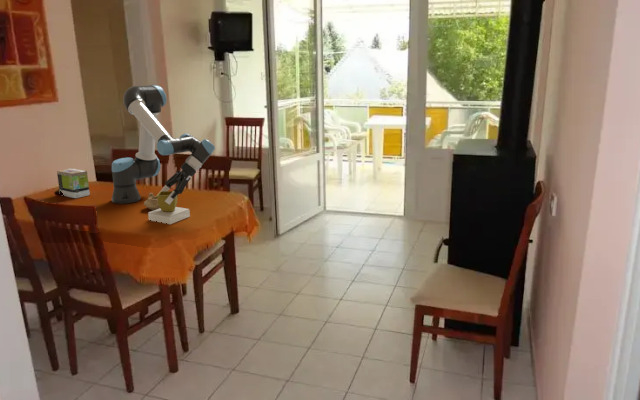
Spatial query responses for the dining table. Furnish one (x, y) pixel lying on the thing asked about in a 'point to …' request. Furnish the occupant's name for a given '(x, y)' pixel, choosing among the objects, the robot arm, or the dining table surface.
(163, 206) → the flower pot
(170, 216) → the plinth
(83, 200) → the dining table surface
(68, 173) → the tea box
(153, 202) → the oil lamp
